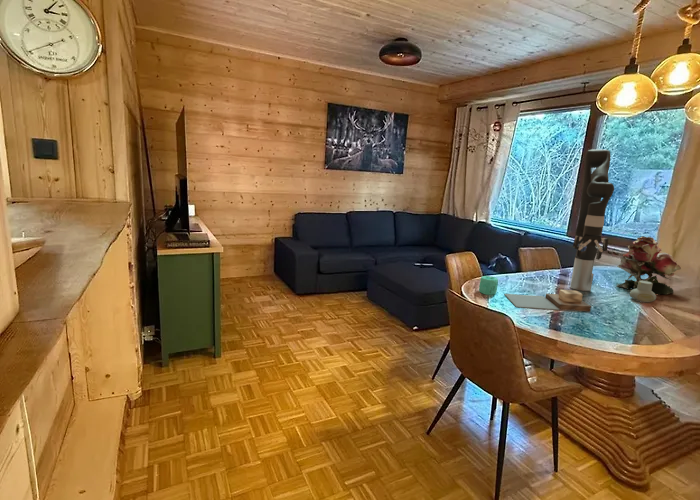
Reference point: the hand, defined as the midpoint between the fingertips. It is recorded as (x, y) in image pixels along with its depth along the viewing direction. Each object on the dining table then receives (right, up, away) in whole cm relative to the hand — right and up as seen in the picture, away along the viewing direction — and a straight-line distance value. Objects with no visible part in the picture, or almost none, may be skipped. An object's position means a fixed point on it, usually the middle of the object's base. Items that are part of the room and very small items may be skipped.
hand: (587, 258), depth 189 cm
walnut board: (-9, -23, +3) cm, 24 cm away
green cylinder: (-43, -18, +16) cm, 49 cm away
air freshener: (+36, -22, +14) cm, 45 cm away
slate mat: (-26, -21, +4) cm, 34 cm away
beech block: (-8, -20, +2) cm, 22 cm away
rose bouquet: (+52, -18, +37) cm, 67 cm away
